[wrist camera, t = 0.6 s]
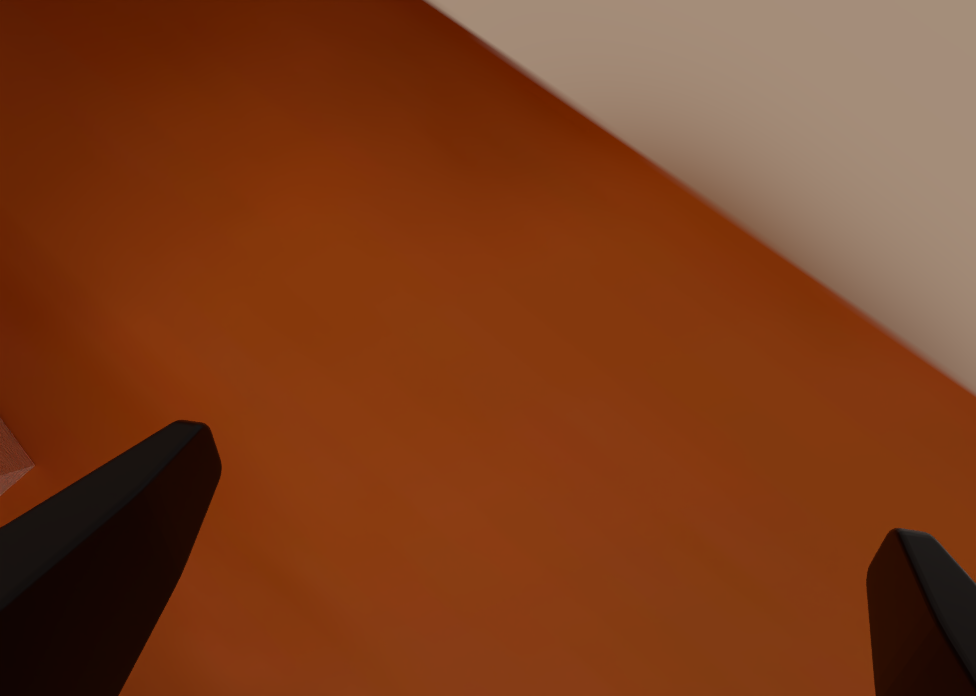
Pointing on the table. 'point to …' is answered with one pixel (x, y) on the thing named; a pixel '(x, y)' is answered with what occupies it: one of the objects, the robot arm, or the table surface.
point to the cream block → (11, 459)
